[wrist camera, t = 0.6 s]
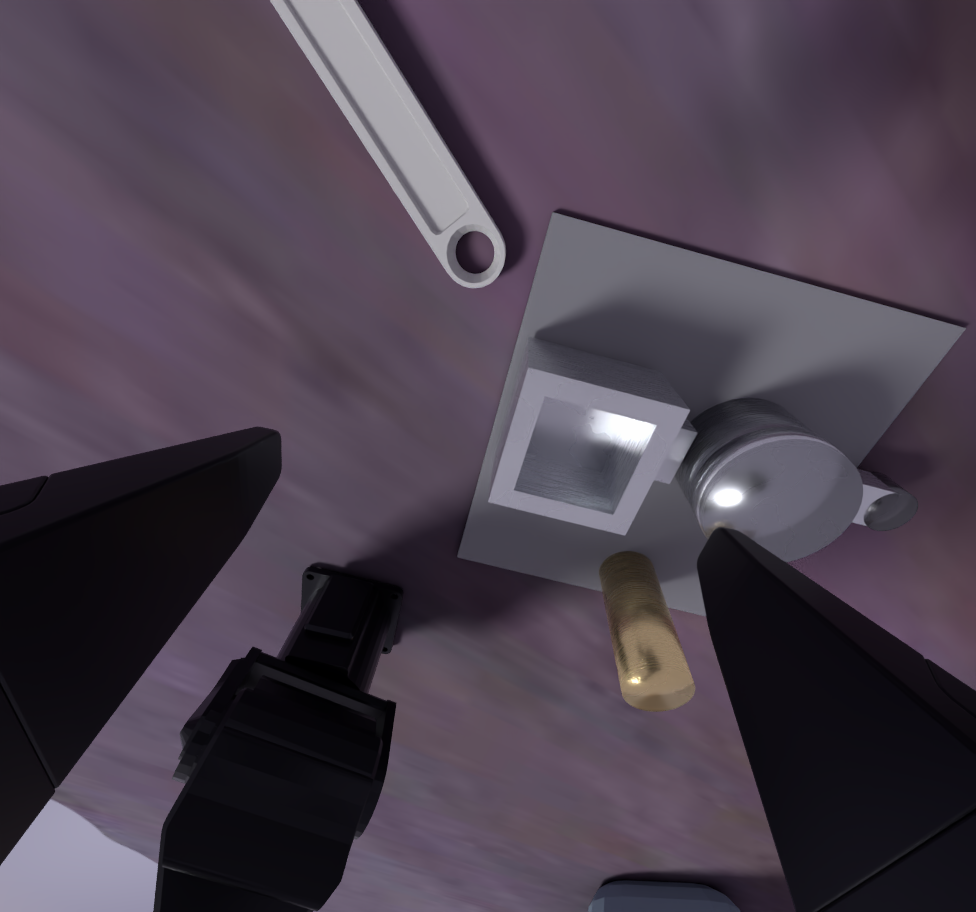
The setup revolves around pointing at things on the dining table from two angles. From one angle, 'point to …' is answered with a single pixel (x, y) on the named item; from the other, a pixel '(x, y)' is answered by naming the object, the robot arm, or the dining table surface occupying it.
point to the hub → (768, 478)
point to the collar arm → (612, 443)
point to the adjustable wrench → (393, 128)
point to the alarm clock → (659, 898)
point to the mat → (697, 380)
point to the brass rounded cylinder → (643, 635)
